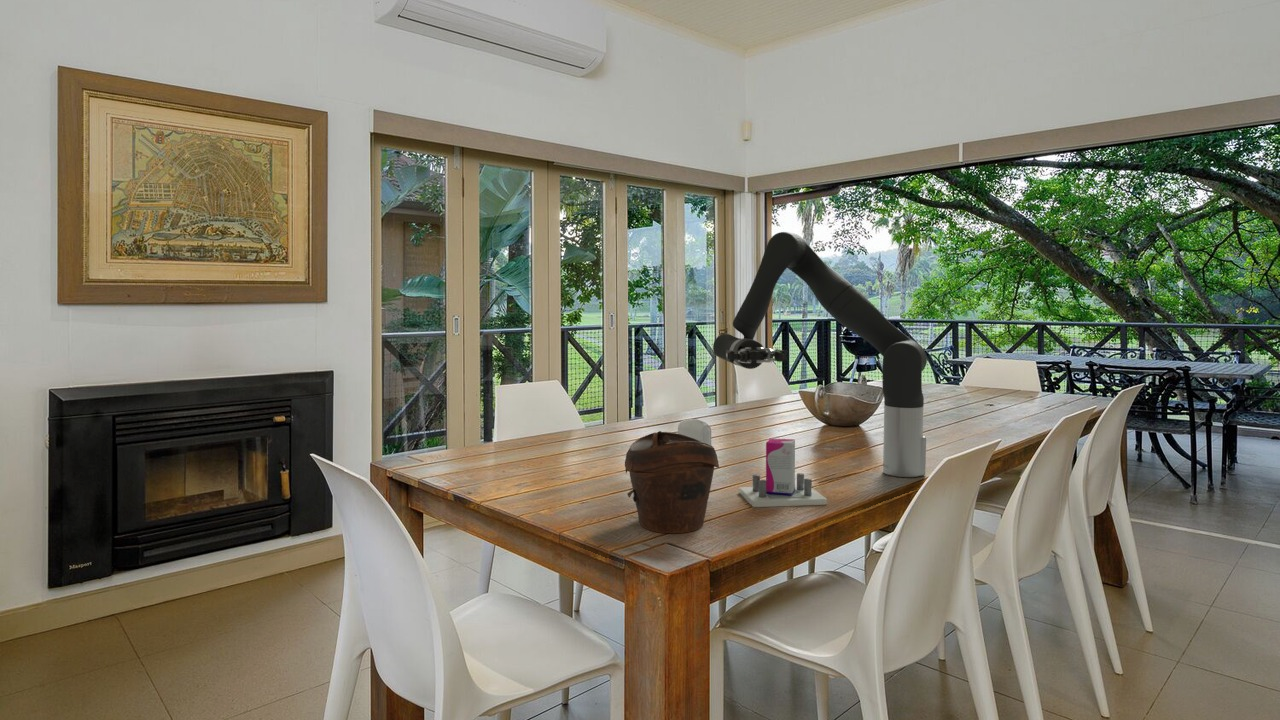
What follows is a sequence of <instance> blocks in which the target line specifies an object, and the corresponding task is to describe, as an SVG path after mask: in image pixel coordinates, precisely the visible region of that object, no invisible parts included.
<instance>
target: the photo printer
mask: <svg viewBox="0 0 1280 720" xmlns="http://www.w3.org/2000/svg"><path fill="white" fill-rule="evenodd" d="M677 434H682V435H685V436H688V437H691V438H694V439H696V440H699V441H701V442H703V443H706V444H708V445H711V446H712V429H711V425H709V424H708V423H707V422H705V421H703V420H701V419H695V418H689V419H688V418H687V419H684V420H681V421H679V423H678V426H677Z"/></svg>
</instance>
